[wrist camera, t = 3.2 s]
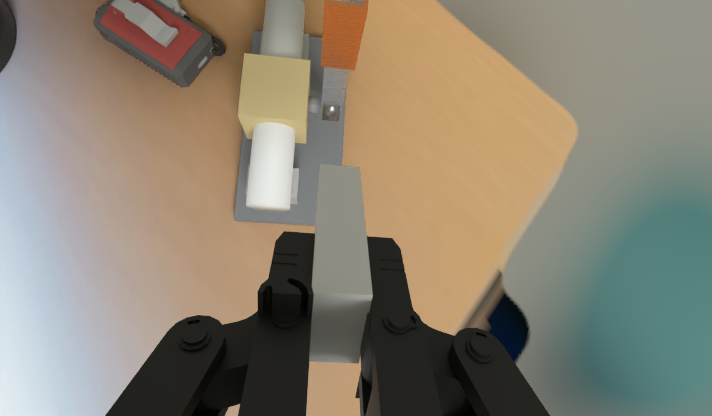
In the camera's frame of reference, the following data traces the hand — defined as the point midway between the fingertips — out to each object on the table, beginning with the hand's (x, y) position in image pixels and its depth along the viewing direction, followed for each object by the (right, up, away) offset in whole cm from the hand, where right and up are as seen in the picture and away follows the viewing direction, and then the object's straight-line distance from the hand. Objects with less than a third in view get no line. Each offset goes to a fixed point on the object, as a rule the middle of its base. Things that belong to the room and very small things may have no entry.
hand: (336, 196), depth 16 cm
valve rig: (-6, +9, +31) cm, 32 cm away
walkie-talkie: (-24, +21, +31) cm, 45 cm away
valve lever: (-2, +9, +25) cm, 27 cm away
